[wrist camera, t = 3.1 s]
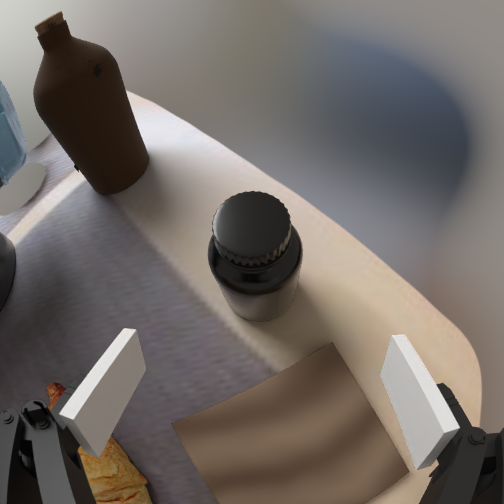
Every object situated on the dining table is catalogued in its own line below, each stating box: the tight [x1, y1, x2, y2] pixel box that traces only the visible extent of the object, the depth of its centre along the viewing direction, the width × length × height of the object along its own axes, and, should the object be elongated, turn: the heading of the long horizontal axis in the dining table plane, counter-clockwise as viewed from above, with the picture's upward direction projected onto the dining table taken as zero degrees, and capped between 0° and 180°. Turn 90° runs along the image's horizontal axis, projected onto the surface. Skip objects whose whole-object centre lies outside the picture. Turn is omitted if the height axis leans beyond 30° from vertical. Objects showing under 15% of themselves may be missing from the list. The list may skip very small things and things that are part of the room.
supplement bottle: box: [208, 191, 303, 321], centre depth 22 cm, size 7×7×12 cm
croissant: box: [46, 382, 152, 504], centre depth 17 cm, size 21×10×8 cm, turn 31°
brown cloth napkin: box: [171, 342, 410, 504], centre depth 19 cm, size 16×16×1 cm
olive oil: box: [33, 12, 149, 194], centre depth 25 cm, size 11×11×25 cm
